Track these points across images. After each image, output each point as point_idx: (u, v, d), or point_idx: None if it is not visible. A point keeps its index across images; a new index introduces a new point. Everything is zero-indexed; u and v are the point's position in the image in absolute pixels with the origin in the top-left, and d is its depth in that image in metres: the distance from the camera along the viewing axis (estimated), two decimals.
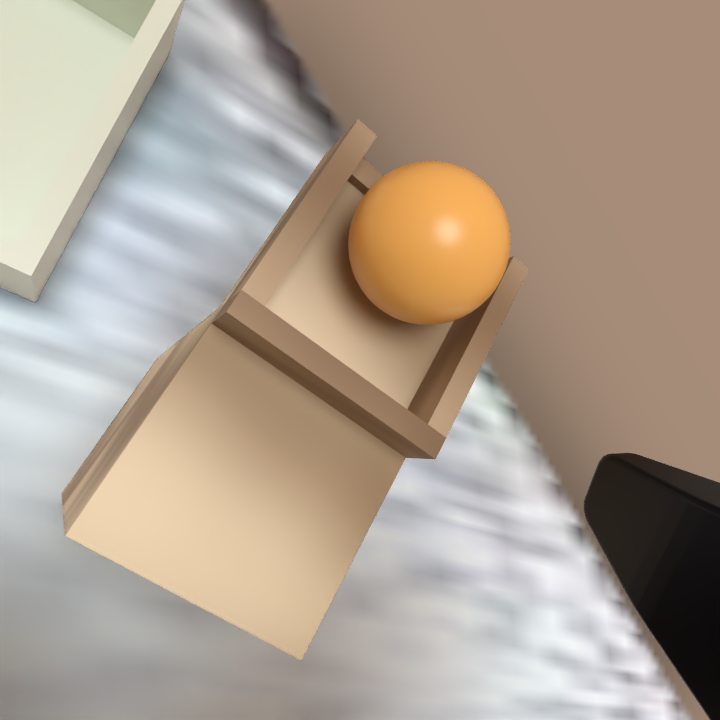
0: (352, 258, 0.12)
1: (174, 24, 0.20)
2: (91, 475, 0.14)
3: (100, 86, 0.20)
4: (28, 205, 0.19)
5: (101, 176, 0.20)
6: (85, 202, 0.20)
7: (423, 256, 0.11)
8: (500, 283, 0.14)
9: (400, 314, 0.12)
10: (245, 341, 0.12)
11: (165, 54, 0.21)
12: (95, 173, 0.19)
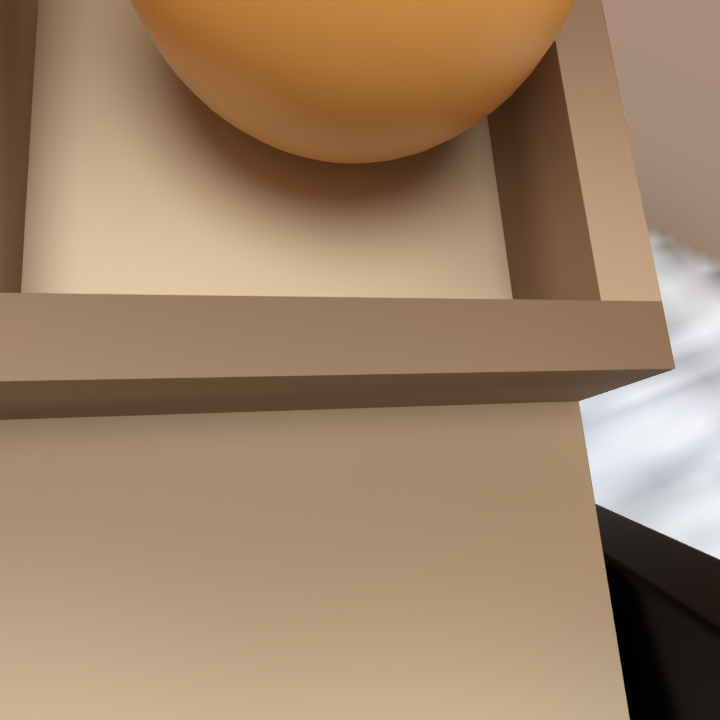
0: (169, 57, 0.04)
1: None
2: None
3: None
4: None
5: None
6: None
7: None
8: None
9: (376, 152, 0.04)
10: (31, 410, 0.04)
11: None
12: None
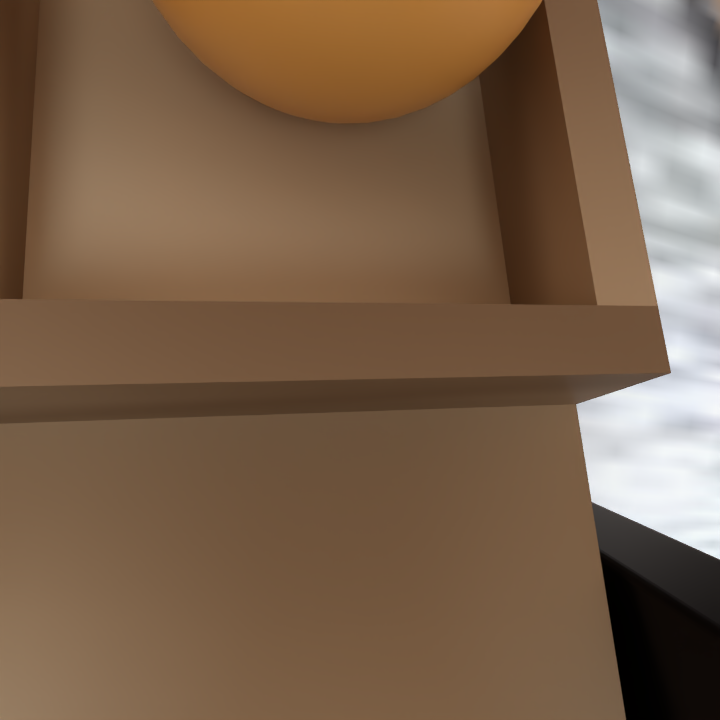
0: None
1: None
2: None
3: None
4: None
5: None
6: None
7: None
8: None
9: (374, 78, 0.04)
10: (33, 414, 0.04)
11: None
12: None
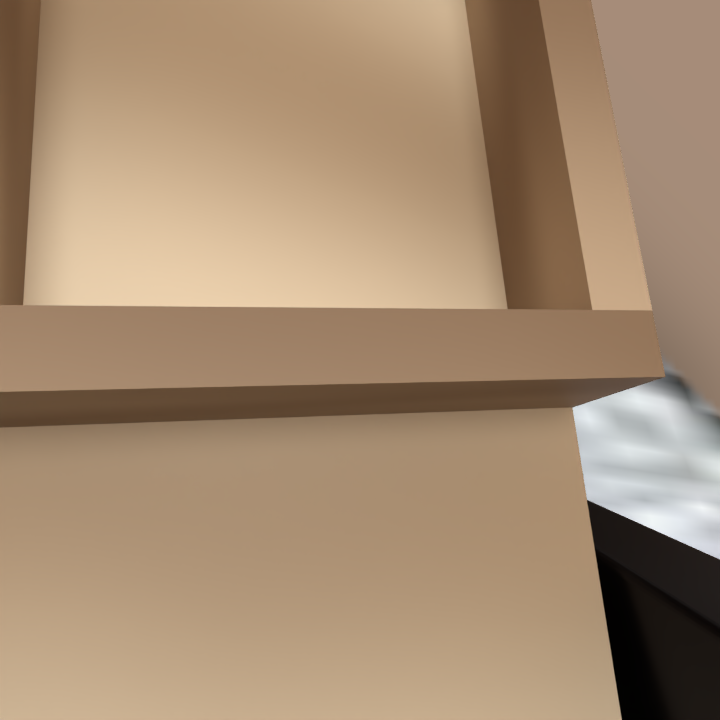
0: None
1: None
2: None
3: None
4: None
5: None
6: None
7: None
8: None
9: None
10: (34, 418, 0.04)
11: None
12: None
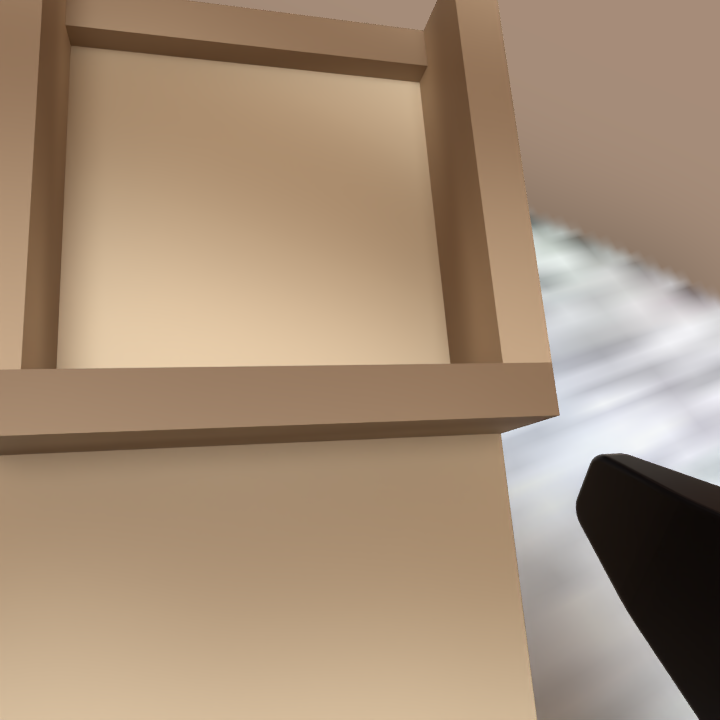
0: None
1: None
2: None
3: None
4: None
5: None
6: None
7: None
8: (460, 28, 0.07)
9: None
10: (68, 448, 0.06)
11: None
12: None
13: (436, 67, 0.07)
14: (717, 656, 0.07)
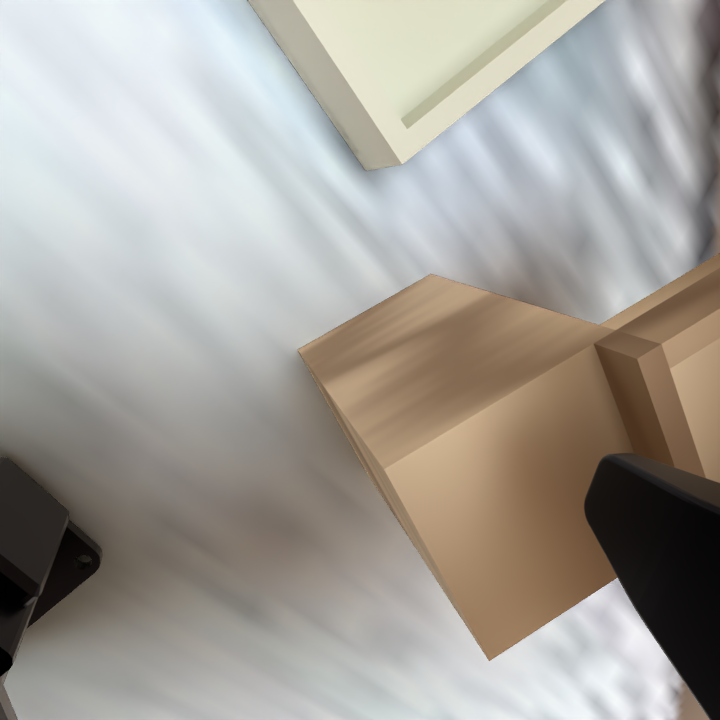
0: None
1: None
2: (380, 390, 0.14)
3: None
4: (410, 76, 0.18)
5: None
6: None
7: None
8: None
9: None
10: (616, 379, 0.11)
11: None
12: None
13: None
14: None
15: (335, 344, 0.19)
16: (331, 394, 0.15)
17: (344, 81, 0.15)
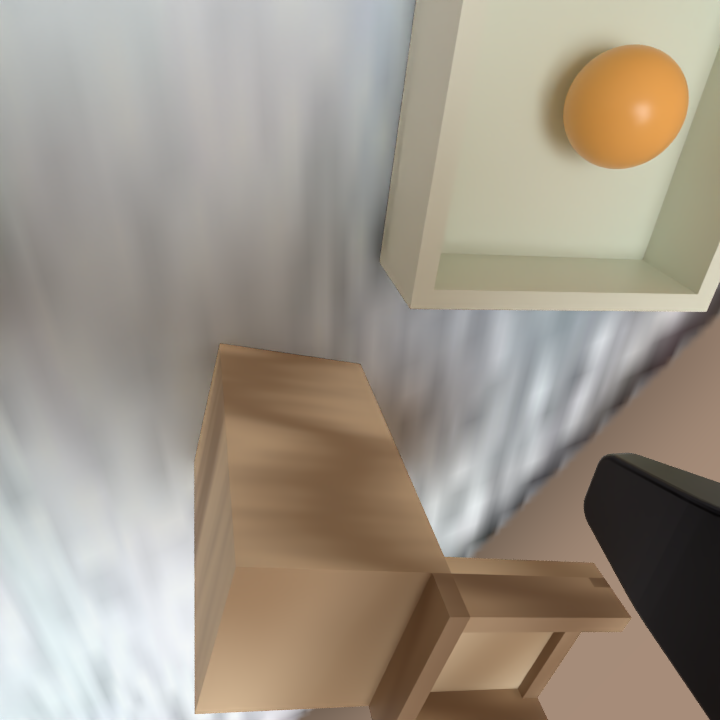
0: (651, 56, 0.16)
1: None
2: (267, 469, 0.16)
3: (593, 239, 0.21)
4: (466, 231, 0.20)
5: None
6: None
7: (679, 116, 0.16)
8: None
9: (631, 108, 0.16)
10: (426, 605, 0.14)
11: None
12: None
13: (519, 707, 0.17)
14: None
15: (253, 371, 0.20)
16: (227, 434, 0.17)
17: (422, 224, 0.17)
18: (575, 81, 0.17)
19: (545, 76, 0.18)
